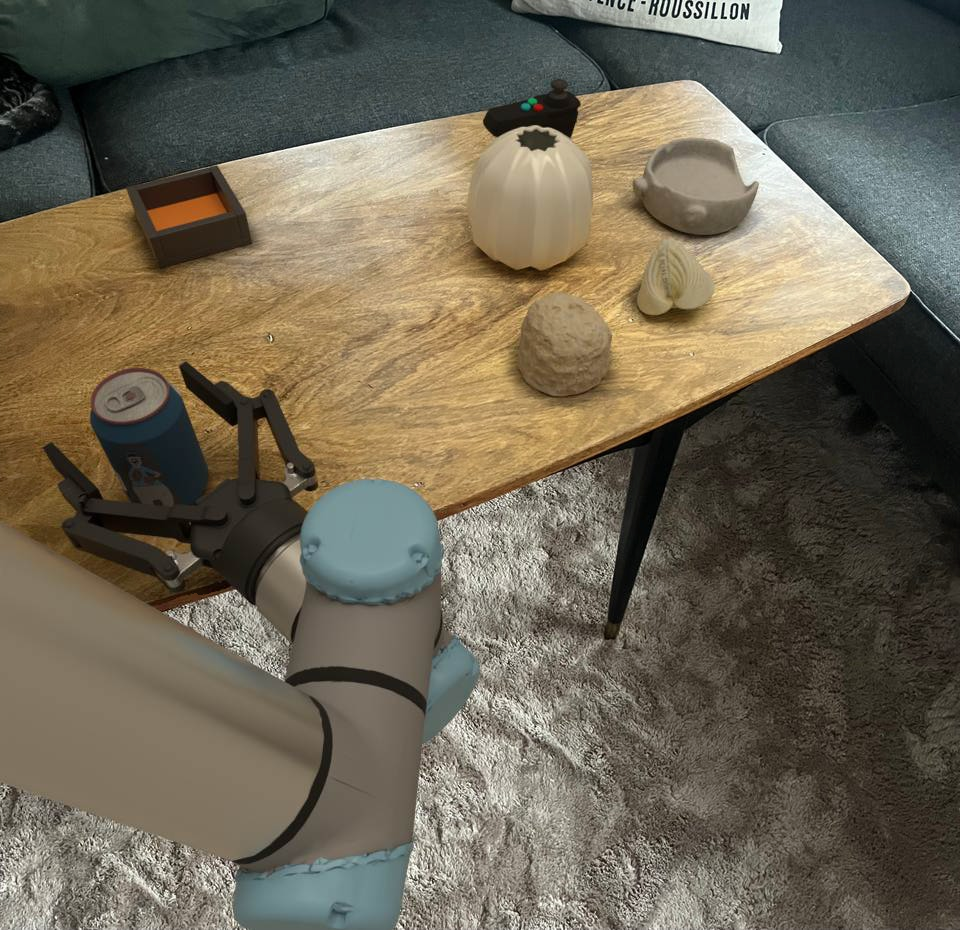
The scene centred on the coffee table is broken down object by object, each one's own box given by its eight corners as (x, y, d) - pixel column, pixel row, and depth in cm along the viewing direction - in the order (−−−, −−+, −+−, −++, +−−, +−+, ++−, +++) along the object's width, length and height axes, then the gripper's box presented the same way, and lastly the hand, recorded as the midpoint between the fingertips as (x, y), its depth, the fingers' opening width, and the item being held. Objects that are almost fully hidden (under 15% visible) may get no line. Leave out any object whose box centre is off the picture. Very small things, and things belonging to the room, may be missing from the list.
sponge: (570, 361, 89) (532, 278, 85) (643, 355, 82) (606, 264, 78) (521, 411, 84) (478, 326, 80) (595, 409, 77) (552, 316, 73)
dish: (699, 162, 107) (709, 125, 103) (774, 218, 100) (788, 181, 96) (609, 193, 102) (616, 156, 98) (682, 254, 95) (692, 216, 91)
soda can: (192, 446, 75) (155, 349, 66) (225, 496, 72) (192, 402, 62) (117, 481, 72) (68, 385, 63) (148, 535, 69) (101, 442, 60)
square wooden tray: (159, 268, 91) (149, 238, 88) (136, 217, 96) (125, 187, 93) (252, 243, 94) (245, 212, 91) (224, 195, 100) (217, 164, 97)
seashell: (627, 311, 85) (625, 237, 86) (646, 334, 93) (643, 266, 94) (709, 299, 82) (705, 223, 83) (720, 325, 89) (717, 254, 91)
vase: (525, 302, 89) (535, 192, 78) (442, 241, 95) (442, 131, 85) (613, 252, 95) (633, 143, 84) (529, 197, 101) (538, 90, 91)
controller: (578, 162, 106) (588, 86, 98) (492, 184, 103) (496, 107, 95) (562, 146, 109) (570, 70, 101) (477, 167, 105) (479, 90, 97)
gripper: (164, 707, 57) (3, 526, 65) (414, 501, 68) (249, 371, 77) (131, 659, 51) (-41, 467, 60) (410, 442, 62) (232, 308, 71)
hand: (122, 413), depth 68 cm, fingers open, 12 cm apart
